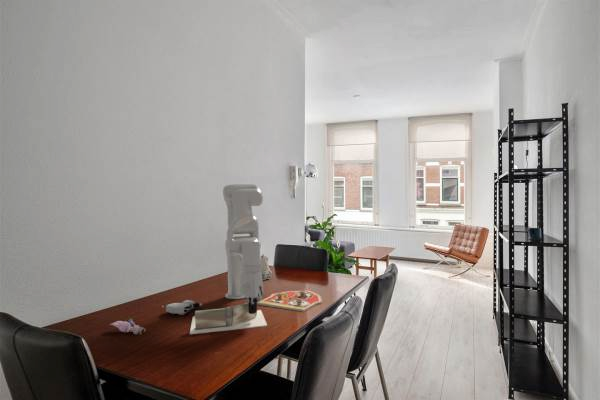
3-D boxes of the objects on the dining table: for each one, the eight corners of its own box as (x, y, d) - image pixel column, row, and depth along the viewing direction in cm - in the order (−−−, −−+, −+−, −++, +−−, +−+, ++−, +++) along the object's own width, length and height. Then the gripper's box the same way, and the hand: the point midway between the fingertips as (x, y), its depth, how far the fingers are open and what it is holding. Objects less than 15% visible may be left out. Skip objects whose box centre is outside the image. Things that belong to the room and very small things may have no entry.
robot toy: (183, 307, 173) (160, 315, 159) (183, 298, 173) (160, 304, 159) (204, 310, 168) (182, 318, 154) (204, 300, 168) (182, 307, 154)
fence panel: (233, 323, 144) (232, 307, 144) (231, 323, 145) (230, 307, 145) (256, 316, 152) (256, 301, 152) (254, 315, 153) (254, 300, 153)
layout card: (192, 317, 155) (192, 316, 155) (261, 310, 162) (260, 309, 162) (189, 334, 136) (189, 333, 136) (267, 326, 143) (267, 324, 143)
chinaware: (243, 278, 237) (240, 253, 236) (267, 273, 242) (264, 249, 241) (251, 288, 210) (247, 260, 209) (278, 282, 215) (274, 255, 215)
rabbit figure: (147, 333, 141) (117, 325, 145) (149, 319, 141) (118, 311, 144) (136, 340, 135) (105, 330, 139) (138, 325, 135) (106, 316, 138)
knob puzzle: (254, 305, 172) (254, 296, 172) (285, 290, 198) (285, 282, 198) (308, 313, 158) (308, 303, 158) (333, 296, 184) (333, 287, 184)
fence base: (195, 328, 141) (195, 310, 141) (231, 325, 144) (231, 306, 144) (195, 331, 139) (195, 311, 139) (232, 327, 142) (231, 308, 142)
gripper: (233, 268, 150) (234, 312, 150) (256, 272, 140) (258, 318, 140) (246, 266, 156) (248, 307, 155) (270, 269, 146) (271, 313, 145)
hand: (252, 312), depth 147 cm, fingers closed
